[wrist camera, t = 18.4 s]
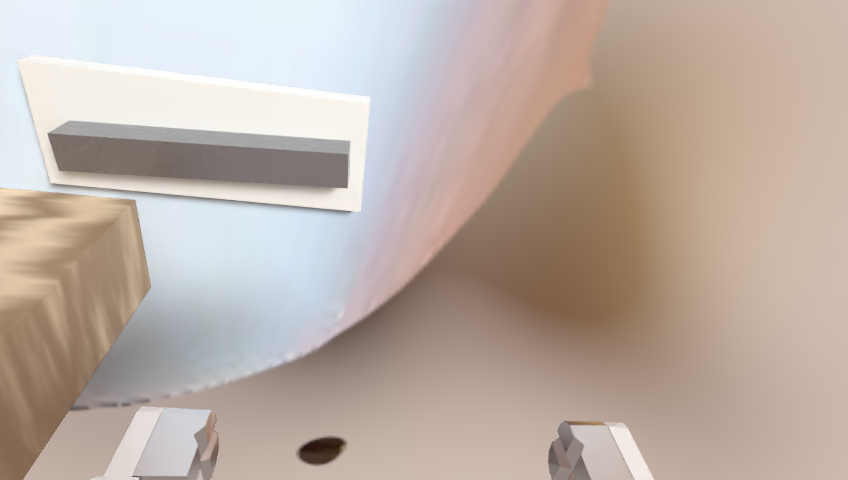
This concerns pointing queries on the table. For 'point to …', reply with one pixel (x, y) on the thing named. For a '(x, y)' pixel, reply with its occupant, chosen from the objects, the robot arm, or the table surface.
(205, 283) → the table surface
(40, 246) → the tall wooden pillar
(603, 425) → the robot arm
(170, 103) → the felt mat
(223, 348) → the table surface
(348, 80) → the table surface
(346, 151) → the bar
